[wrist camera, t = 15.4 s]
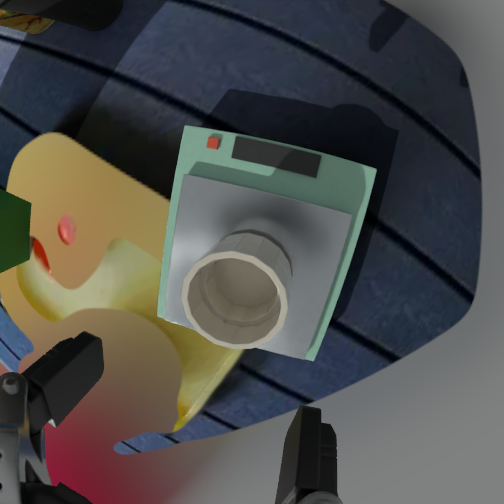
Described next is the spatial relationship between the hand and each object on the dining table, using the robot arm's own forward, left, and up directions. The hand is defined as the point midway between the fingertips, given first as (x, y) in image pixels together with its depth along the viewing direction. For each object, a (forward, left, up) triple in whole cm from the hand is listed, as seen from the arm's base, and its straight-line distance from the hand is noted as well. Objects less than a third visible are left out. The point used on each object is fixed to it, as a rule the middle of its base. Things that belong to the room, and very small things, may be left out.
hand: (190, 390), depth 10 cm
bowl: (0, 0, -12) cm, 12 cm away
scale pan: (0, 0, -13) cm, 13 cm away
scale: (0, -2, -16) cm, 16 cm away
